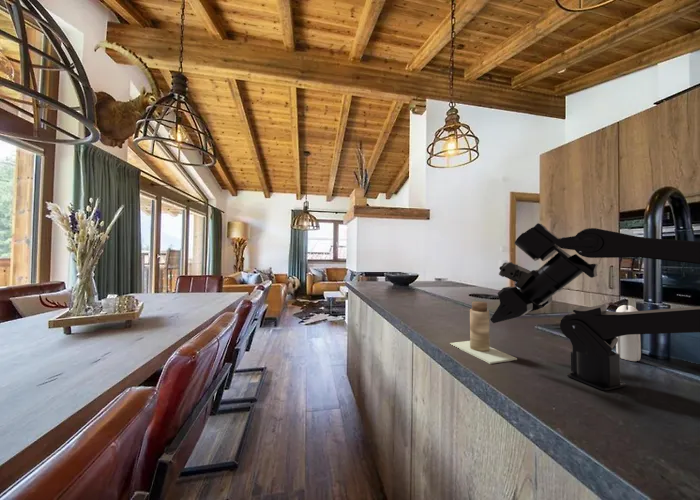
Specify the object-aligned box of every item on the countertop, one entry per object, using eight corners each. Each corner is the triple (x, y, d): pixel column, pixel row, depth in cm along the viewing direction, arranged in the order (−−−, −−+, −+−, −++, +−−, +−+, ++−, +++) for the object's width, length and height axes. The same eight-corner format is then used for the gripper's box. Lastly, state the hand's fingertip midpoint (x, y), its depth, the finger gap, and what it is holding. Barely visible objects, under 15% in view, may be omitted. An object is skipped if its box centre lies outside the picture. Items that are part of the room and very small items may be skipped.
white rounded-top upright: (616, 348, 72) (615, 301, 72) (640, 352, 68) (639, 304, 69) (615, 358, 64) (614, 307, 65) (641, 363, 61) (640, 309, 62)
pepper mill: (492, 349, 70) (492, 302, 70) (484, 353, 67) (484, 305, 67) (475, 344, 73) (474, 300, 74) (466, 348, 70) (466, 302, 71)
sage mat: (517, 359, 64) (516, 358, 64) (490, 363, 61) (490, 362, 61) (473, 341, 77) (473, 340, 77) (450, 344, 75) (450, 343, 75)
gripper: (535, 251, 69) (491, 290, 77) (506, 250, 57) (458, 296, 65) (576, 284, 62) (523, 322, 71) (552, 290, 50) (493, 336, 59)
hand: (500, 318), depth 66 cm, fingers open, 9 cm apart
